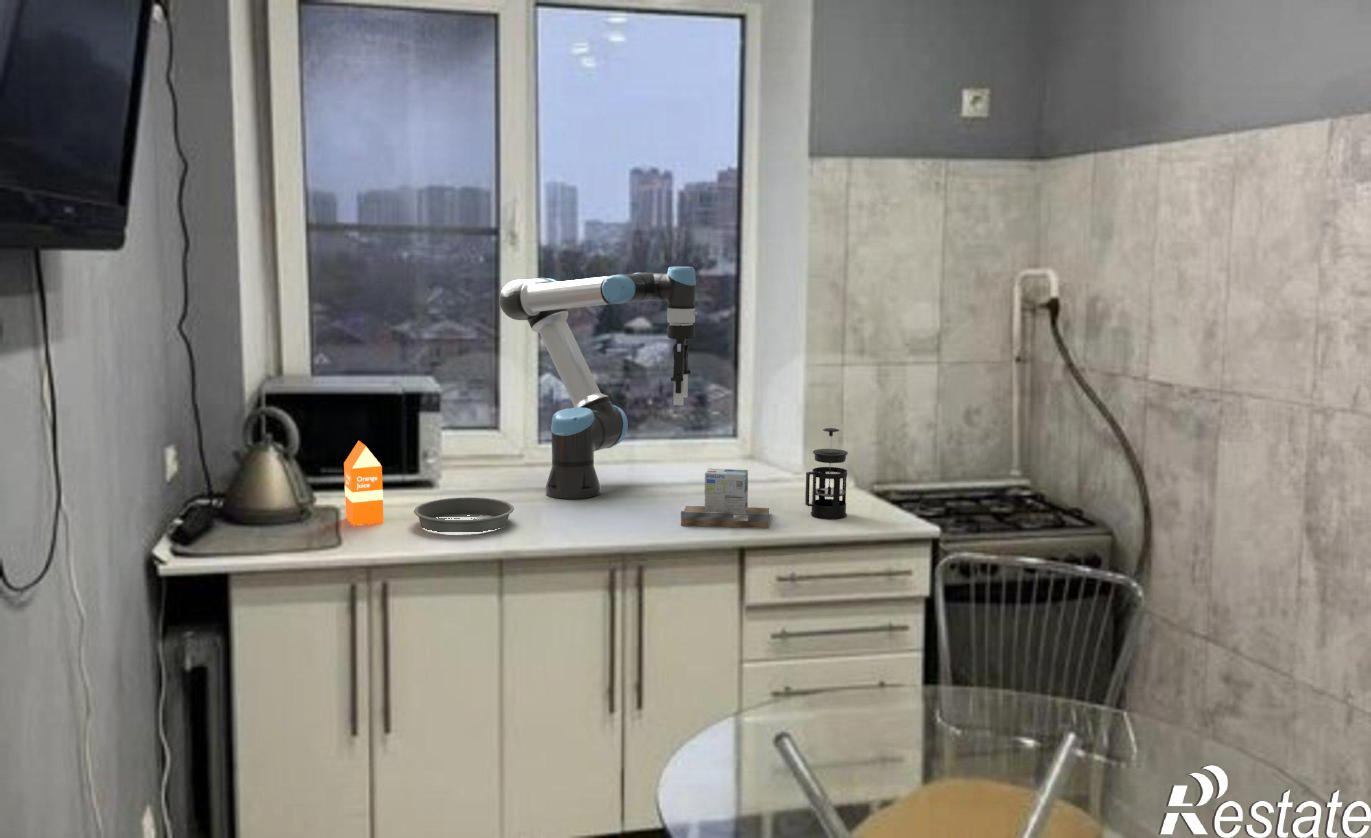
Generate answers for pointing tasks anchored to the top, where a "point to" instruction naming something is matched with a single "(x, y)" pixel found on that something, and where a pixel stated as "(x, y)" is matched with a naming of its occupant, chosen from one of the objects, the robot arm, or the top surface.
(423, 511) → the cake pan
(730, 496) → the light bulb box
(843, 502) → the french press
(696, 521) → the shelf board
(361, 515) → the orange juice
